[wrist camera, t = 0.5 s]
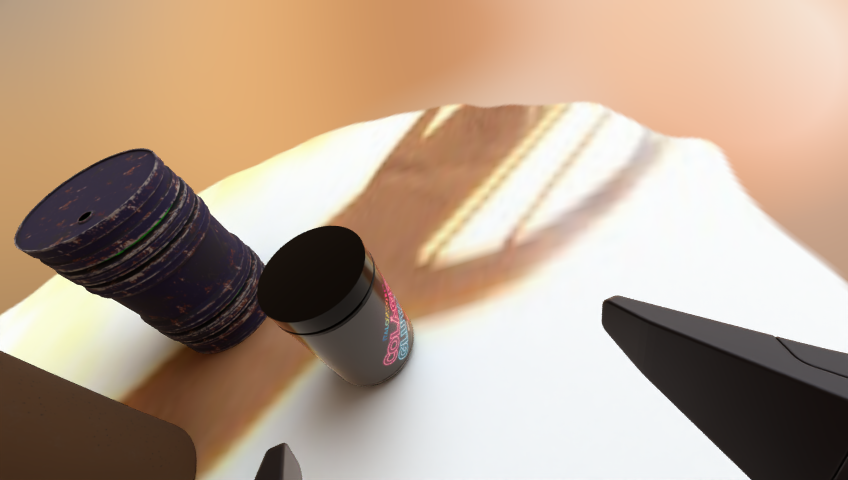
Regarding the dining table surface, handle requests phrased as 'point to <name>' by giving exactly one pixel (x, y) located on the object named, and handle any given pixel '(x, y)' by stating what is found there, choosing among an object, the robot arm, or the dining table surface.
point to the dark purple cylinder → (149, 250)
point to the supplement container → (337, 305)
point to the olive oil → (81, 433)
